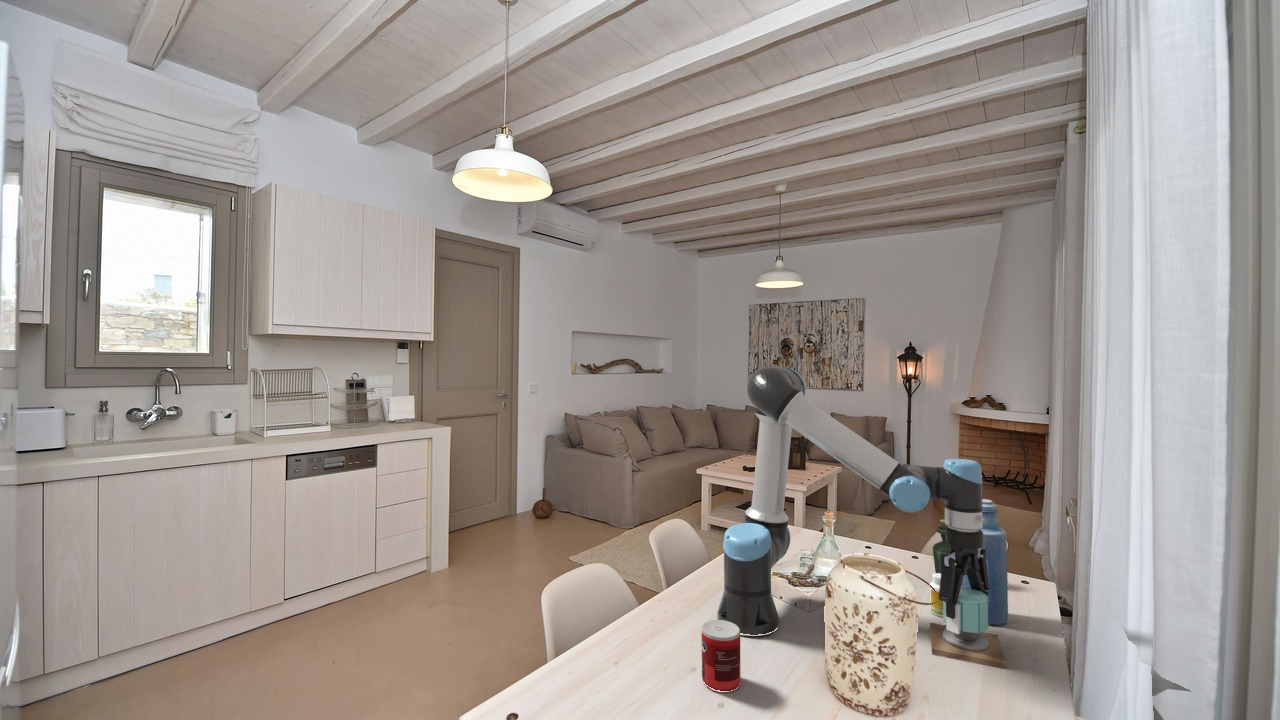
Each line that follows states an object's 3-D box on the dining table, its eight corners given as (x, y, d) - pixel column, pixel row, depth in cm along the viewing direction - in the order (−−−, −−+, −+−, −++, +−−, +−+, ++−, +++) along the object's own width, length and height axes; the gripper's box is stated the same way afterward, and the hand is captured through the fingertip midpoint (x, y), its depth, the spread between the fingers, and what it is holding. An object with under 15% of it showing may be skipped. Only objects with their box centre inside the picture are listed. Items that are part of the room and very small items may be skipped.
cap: (973, 636, 119) (972, 604, 119) (934, 620, 127) (934, 590, 127) (996, 627, 123) (995, 596, 123) (957, 612, 131) (957, 582, 131)
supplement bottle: (956, 619, 139) (956, 580, 139) (933, 617, 140) (933, 579, 140) (949, 609, 144) (948, 572, 144) (926, 608, 145) (926, 571, 145)
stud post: (932, 654, 122) (931, 601, 122) (929, 627, 134) (929, 580, 134) (1006, 669, 115) (1005, 614, 116) (997, 639, 128) (996, 589, 128)
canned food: (714, 667, 116) (713, 616, 117) (747, 681, 111) (747, 627, 112) (694, 683, 111) (693, 629, 111) (728, 698, 106) (728, 641, 106)
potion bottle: (968, 588, 158) (967, 525, 158) (937, 585, 160) (936, 524, 160) (958, 577, 166) (957, 518, 166) (929, 575, 168) (928, 516, 168)
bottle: (1017, 621, 137) (1015, 502, 137) (992, 629, 133) (990, 506, 133) (979, 606, 146) (977, 494, 146) (955, 614, 141) (953, 498, 142)
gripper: (952, 539, 117) (953, 645, 116) (1006, 525, 127) (1008, 622, 127) (919, 530, 123) (920, 630, 123) (973, 517, 134) (975, 610, 133)
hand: (965, 626), depth 125 cm, fingers closed on cap, 8 cm apart
